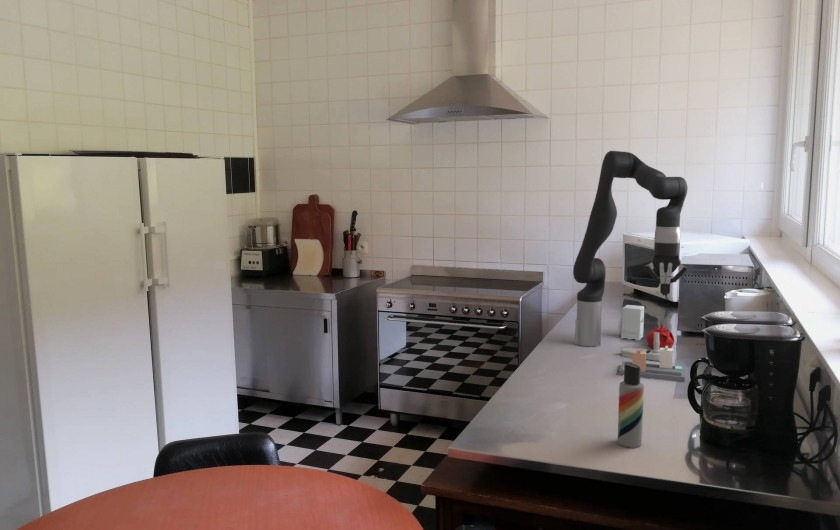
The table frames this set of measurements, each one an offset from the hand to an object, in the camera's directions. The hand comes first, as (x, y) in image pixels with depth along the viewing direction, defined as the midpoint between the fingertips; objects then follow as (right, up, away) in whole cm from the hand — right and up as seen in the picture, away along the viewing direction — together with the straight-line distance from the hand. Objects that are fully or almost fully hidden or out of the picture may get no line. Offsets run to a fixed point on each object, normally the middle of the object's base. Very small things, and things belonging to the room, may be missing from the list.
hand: (664, 295), depth 212 cm
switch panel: (-1, -26, +8) cm, 27 cm away
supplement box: (+7, -20, +55) cm, 59 cm away
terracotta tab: (-6, -25, +6) cm, 26 cm away
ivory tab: (+4, -24, +10) cm, 26 cm away
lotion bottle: (-26, -34, -48) cm, 65 cm away
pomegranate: (+12, -22, +39) cm, 46 cm away
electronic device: (+2, -24, +27) cm, 36 cm away
